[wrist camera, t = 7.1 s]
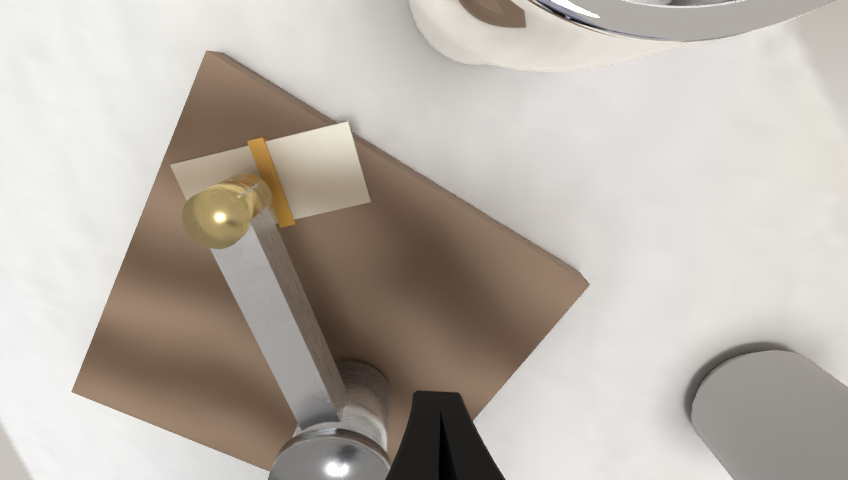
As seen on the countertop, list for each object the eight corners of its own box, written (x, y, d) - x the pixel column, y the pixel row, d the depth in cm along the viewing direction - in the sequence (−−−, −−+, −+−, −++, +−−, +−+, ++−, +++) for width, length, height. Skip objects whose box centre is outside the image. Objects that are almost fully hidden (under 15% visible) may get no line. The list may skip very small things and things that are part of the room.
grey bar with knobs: (409, 419, 23) (407, 518, 18) (322, 438, 23) (295, 541, 18) (309, 149, 17) (264, 178, 12) (197, 180, 18) (107, 222, 13)
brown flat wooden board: (389, 496, 28) (388, 523, 26) (91, 373, 24) (67, 395, 22) (586, 262, 22) (600, 278, 20) (228, 39, 17) (208, 35, 16)
